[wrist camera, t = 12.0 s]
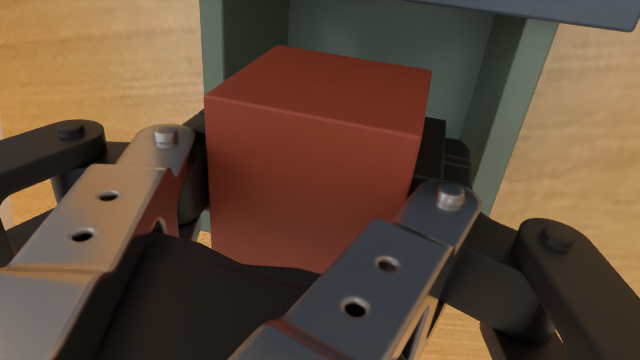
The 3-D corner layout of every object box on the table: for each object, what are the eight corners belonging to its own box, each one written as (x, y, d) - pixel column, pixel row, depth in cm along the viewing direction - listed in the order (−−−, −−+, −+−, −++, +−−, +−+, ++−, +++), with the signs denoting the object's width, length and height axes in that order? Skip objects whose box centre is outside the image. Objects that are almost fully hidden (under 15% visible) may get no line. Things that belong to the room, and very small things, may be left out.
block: (271, 175, 15) (211, 259, 11) (277, 43, 12) (202, 94, 9) (401, 204, 14) (382, 304, 10) (432, 69, 12) (422, 136, 8)
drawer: (452, 253, 24) (452, 373, 18) (261, 208, 26) (198, 301, 20) (569, -101, 16) (650, -117, 9) (269, -128, 18) (160, -158, 11)
